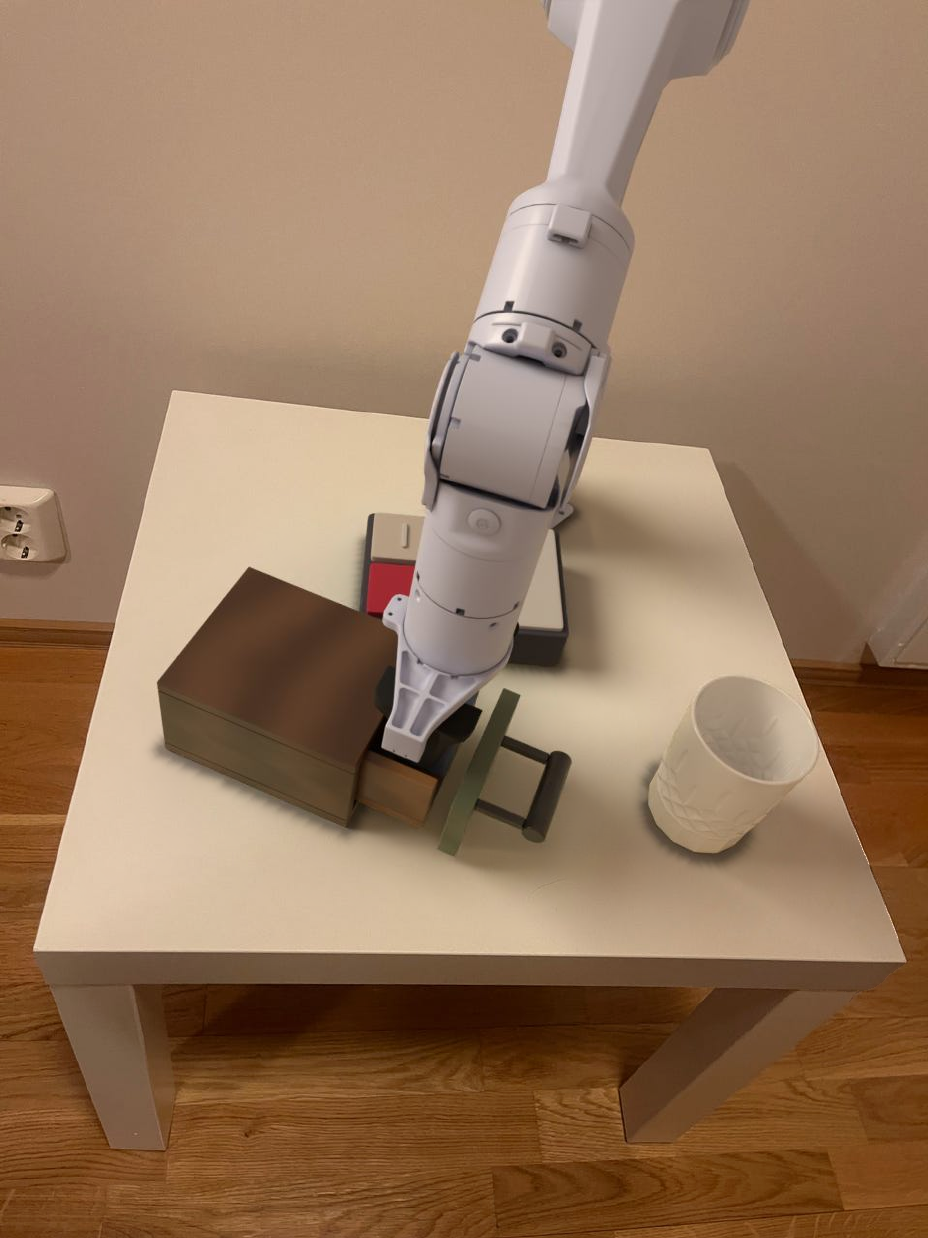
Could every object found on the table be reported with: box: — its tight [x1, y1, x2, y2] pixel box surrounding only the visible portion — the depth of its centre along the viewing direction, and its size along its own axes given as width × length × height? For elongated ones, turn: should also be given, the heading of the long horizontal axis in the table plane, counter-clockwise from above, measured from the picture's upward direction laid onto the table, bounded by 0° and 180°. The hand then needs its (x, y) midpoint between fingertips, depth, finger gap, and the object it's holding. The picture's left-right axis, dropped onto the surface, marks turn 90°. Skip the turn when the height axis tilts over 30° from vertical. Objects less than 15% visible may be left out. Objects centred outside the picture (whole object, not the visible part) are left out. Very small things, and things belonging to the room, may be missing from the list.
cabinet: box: [156, 566, 398, 828], centre depth 58 cm, size 13×11×7 cm
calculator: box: [358, 512, 570, 666], centre depth 68 cm, size 11×4×15 cm
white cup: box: [647, 673, 820, 854], centre depth 58 cm, size 8×8×10 cm
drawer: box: [354, 687, 573, 858], centre depth 57 cm, size 16×9×5 cm, turn 69°
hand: (431, 728), depth 55 cm, fingers closed on block, 4 cm apart
